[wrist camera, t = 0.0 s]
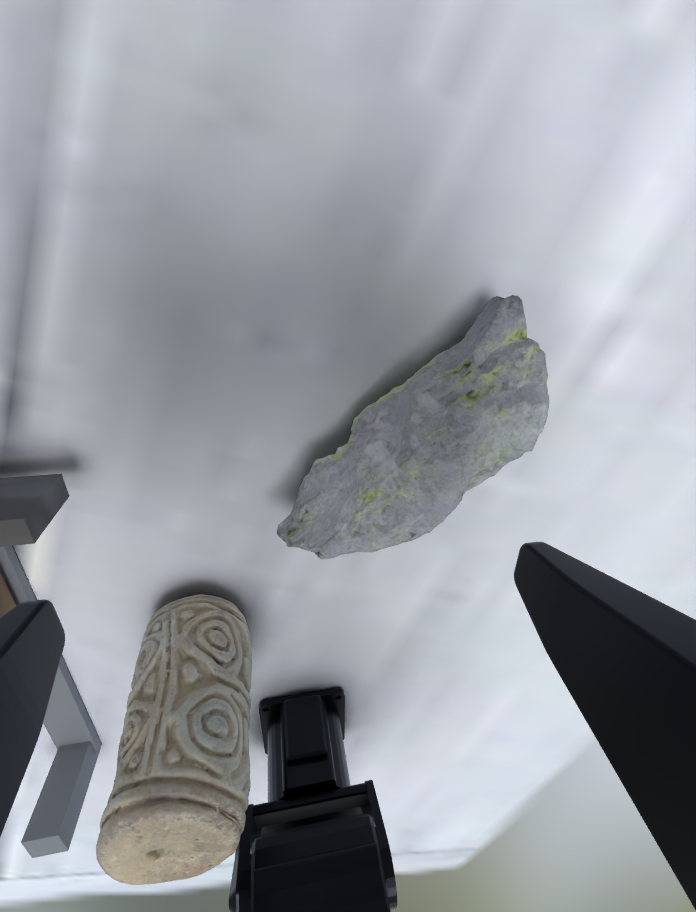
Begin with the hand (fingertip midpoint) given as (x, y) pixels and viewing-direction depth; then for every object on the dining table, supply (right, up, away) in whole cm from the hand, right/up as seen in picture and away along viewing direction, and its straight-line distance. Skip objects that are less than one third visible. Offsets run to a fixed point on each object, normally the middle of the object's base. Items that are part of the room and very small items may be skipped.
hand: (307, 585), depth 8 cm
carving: (-9, -8, +20) cm, 23 cm away
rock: (+4, +4, +16) cm, 17 cm away
